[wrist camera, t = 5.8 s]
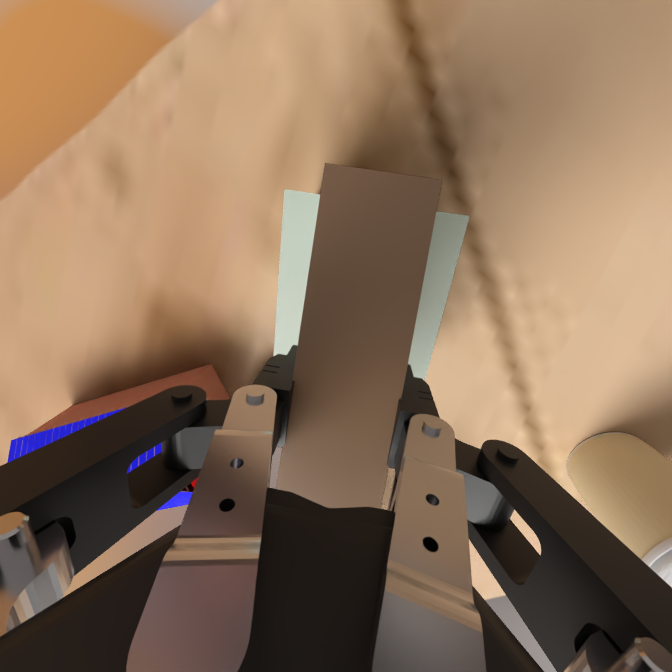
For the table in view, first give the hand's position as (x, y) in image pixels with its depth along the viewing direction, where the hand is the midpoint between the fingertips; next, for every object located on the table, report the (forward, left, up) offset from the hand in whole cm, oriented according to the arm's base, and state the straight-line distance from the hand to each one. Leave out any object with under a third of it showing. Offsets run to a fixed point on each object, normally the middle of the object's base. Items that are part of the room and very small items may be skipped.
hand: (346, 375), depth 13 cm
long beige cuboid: (0, +1, -2) cm, 2 cm away
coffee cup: (-28, +14, -17) cm, 36 cm away
